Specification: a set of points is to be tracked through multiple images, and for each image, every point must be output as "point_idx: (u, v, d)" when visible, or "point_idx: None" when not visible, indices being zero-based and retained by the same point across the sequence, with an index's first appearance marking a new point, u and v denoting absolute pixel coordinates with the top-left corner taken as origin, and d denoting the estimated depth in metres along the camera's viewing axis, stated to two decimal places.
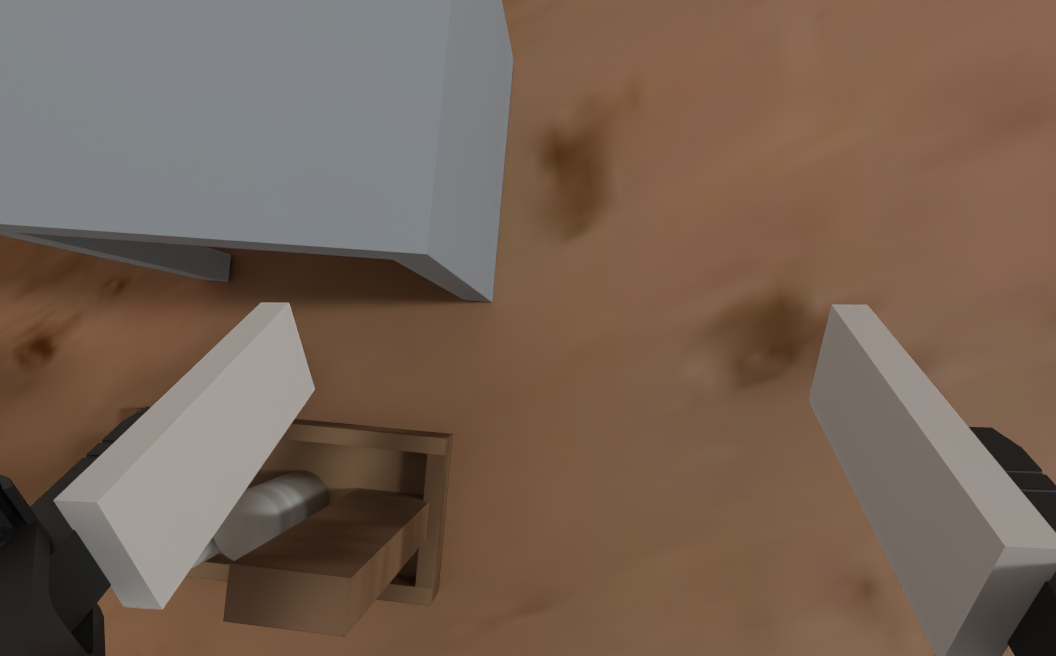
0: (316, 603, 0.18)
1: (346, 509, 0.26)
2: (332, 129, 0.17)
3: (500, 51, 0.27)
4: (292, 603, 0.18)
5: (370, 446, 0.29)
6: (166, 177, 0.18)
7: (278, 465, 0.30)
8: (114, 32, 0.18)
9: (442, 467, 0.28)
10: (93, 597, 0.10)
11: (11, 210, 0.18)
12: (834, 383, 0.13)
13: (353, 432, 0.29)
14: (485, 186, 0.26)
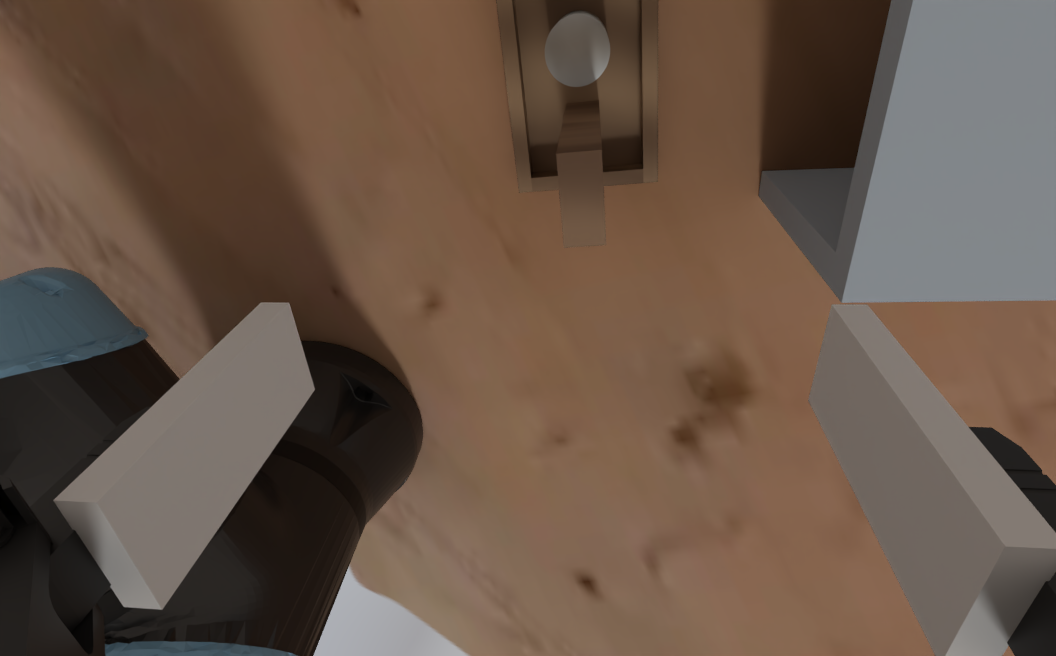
0: (583, 223, 0.24)
1: None
2: (962, 222, 0.21)
3: None
4: (580, 206, 0.24)
5: (644, 115, 0.31)
6: (953, 75, 0.19)
7: (608, 9, 0.30)
8: None
9: (632, 183, 0.33)
10: (93, 597, 0.10)
11: None
12: (834, 383, 0.13)
13: (655, 96, 0.31)
14: None
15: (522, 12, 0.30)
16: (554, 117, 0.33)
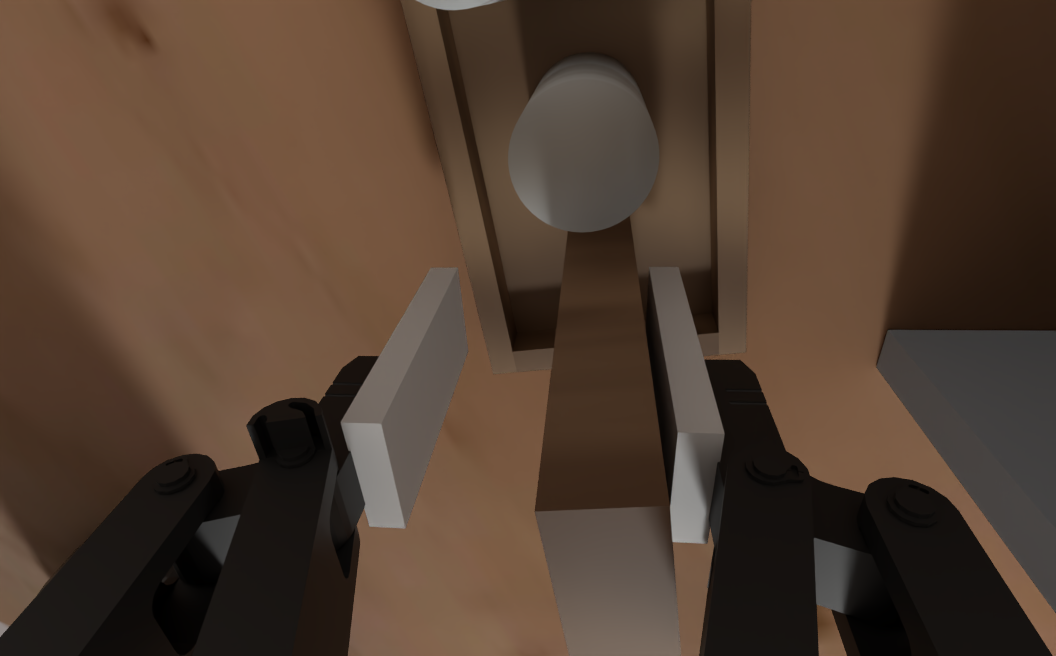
0: (621, 640, 0.09)
1: None
2: None
3: None
4: (611, 610, 0.09)
5: (720, 244, 0.16)
6: None
7: (642, 47, 0.15)
8: None
9: None
10: (358, 513, 0.11)
11: None
12: (649, 333, 0.15)
13: (742, 209, 0.16)
14: None
15: (472, 63, 0.15)
16: (547, 244, 0.18)
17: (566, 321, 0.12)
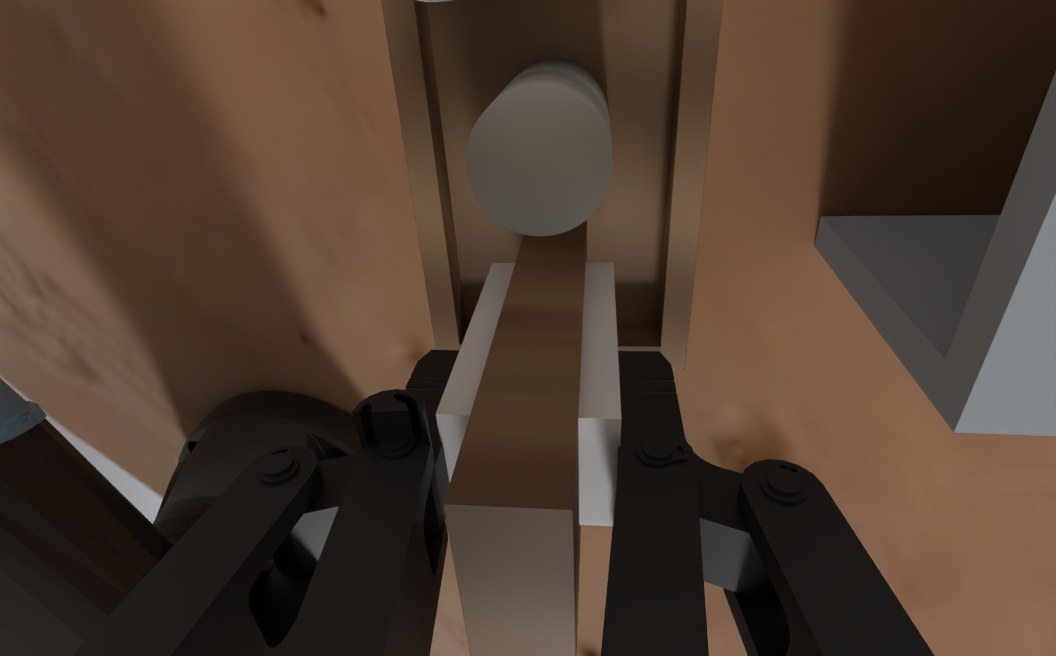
0: (520, 635, 0.09)
1: None
2: None
3: None
4: (511, 606, 0.09)
5: (669, 262, 0.17)
6: None
7: (614, 61, 0.15)
8: None
9: None
10: None
11: None
12: None
13: (693, 230, 0.16)
14: None
15: (446, 53, 0.15)
16: (504, 241, 0.18)
17: (507, 321, 0.12)
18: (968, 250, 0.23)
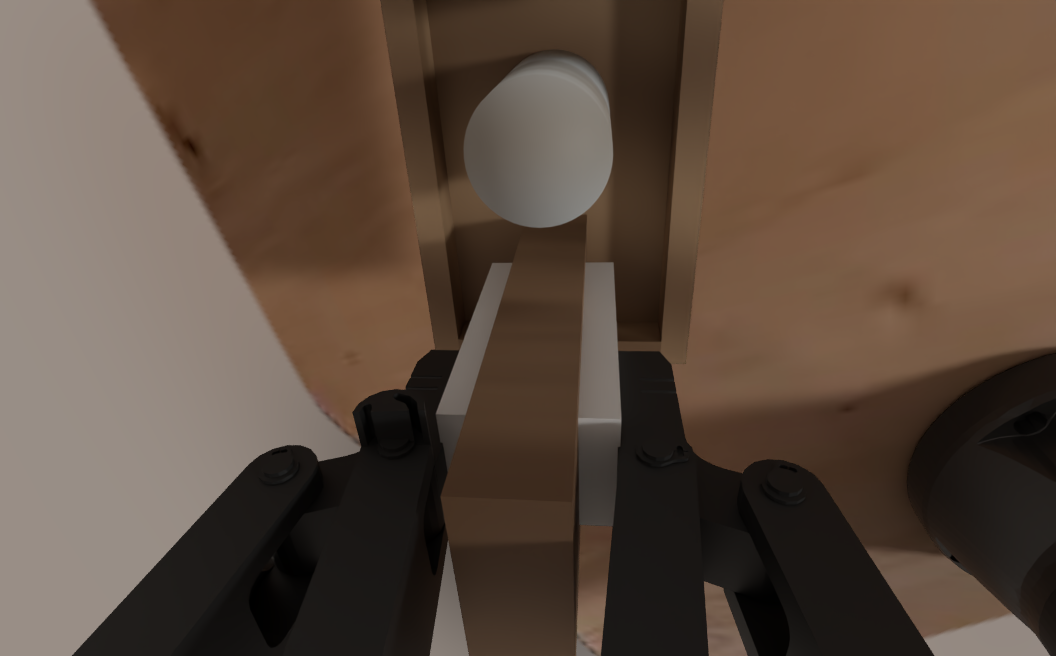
0: (518, 630, 0.09)
1: None
2: None
3: None
4: (509, 600, 0.09)
5: (670, 256, 0.16)
6: None
7: (614, 52, 0.15)
8: None
9: None
10: None
11: None
12: None
13: (694, 223, 0.16)
14: None
15: (444, 45, 0.15)
16: (504, 236, 0.18)
17: (506, 313, 0.12)
18: None
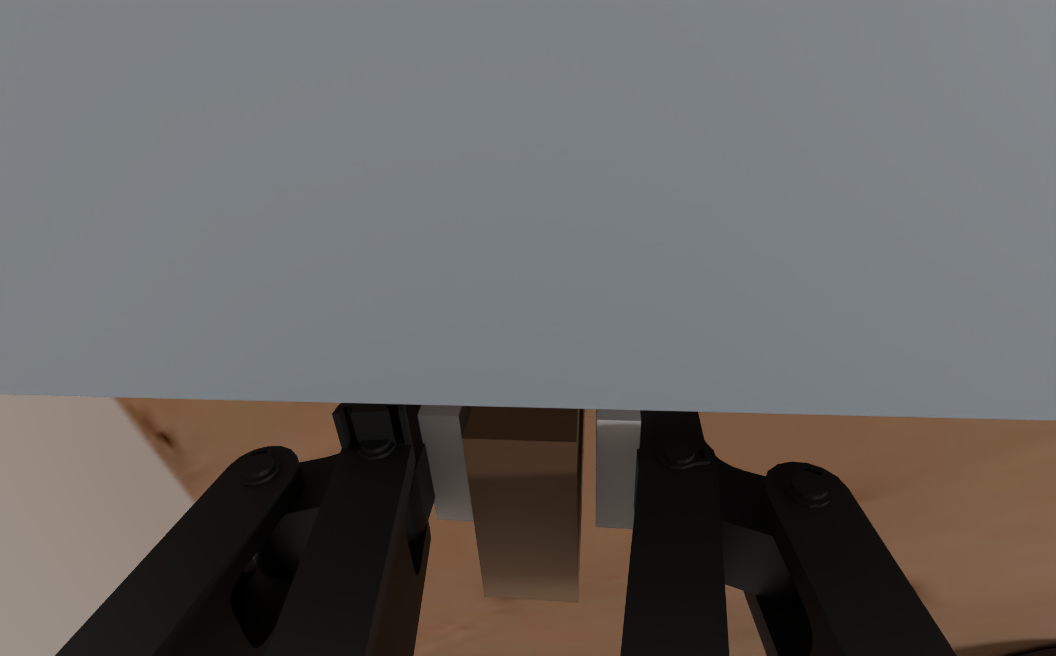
0: (528, 564, 0.11)
1: None
2: None
3: None
4: (521, 536, 0.10)
5: None
6: (491, 250, 0.05)
7: None
8: None
9: None
10: (430, 505, 0.11)
11: (68, 365, 0.06)
12: None
13: None
14: None
15: None
16: None
17: None
18: None
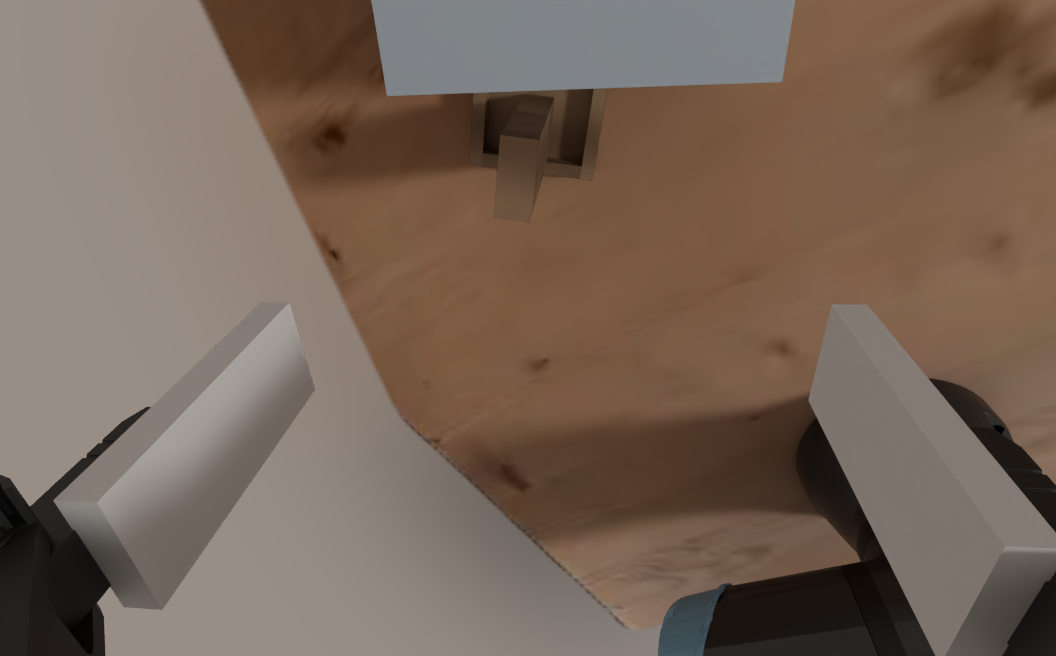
0: (513, 200, 0.28)
1: (548, 126, 0.33)
2: None
3: None
4: (513, 184, 0.28)
5: (590, 120, 0.35)
6: (569, 40, 0.23)
7: None
8: None
9: (570, 177, 0.37)
10: (93, 597, 0.10)
11: (451, 82, 0.24)
12: (834, 383, 0.13)
13: (602, 105, 0.35)
14: None
15: None
16: (513, 103, 0.36)
17: (517, 113, 0.31)
18: None
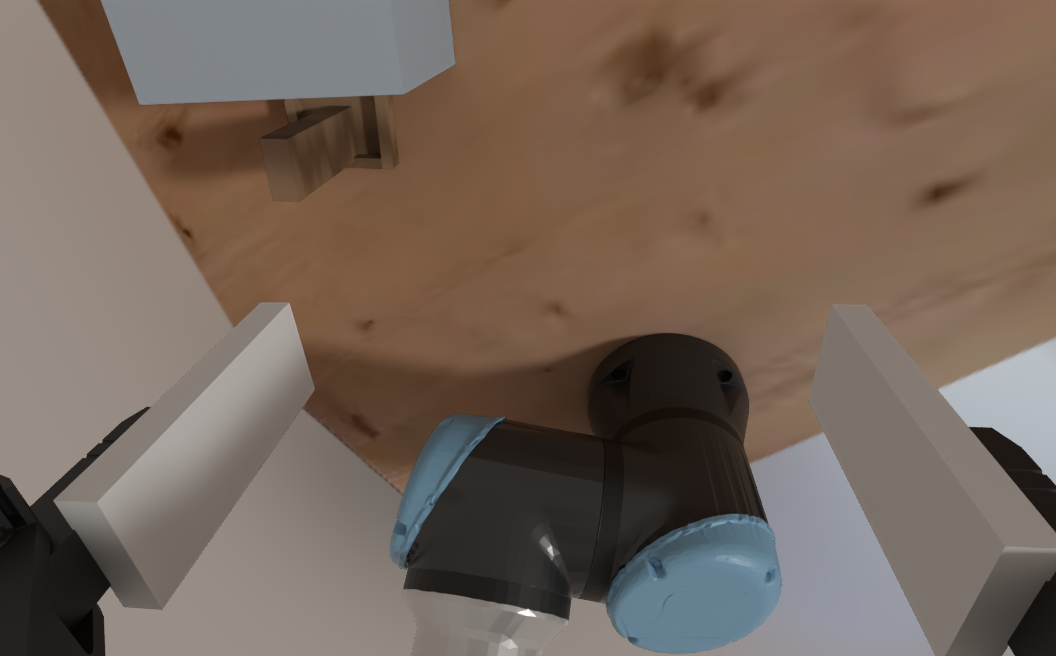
0: (282, 186, 0.38)
1: (334, 129, 0.43)
2: (334, 25, 0.31)
3: None
4: (278, 174, 0.37)
5: (377, 121, 0.45)
6: (254, 65, 0.32)
7: None
8: None
9: (375, 168, 0.47)
10: (93, 597, 0.10)
11: (181, 94, 0.33)
12: (834, 383, 0.13)
13: (384, 108, 0.44)
14: None
15: None
16: None
17: (298, 121, 0.40)
18: None
